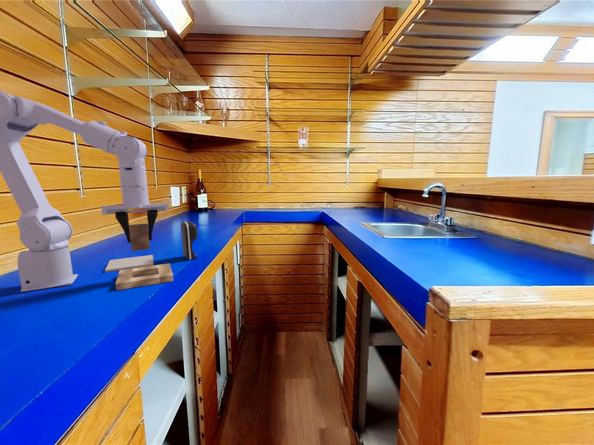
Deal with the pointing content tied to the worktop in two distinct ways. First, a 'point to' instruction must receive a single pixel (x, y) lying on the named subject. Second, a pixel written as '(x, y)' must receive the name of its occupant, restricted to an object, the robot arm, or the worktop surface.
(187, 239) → the coffee machine
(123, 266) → the mat
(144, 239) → the block
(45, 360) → the worktop surface
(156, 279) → the wooden board
